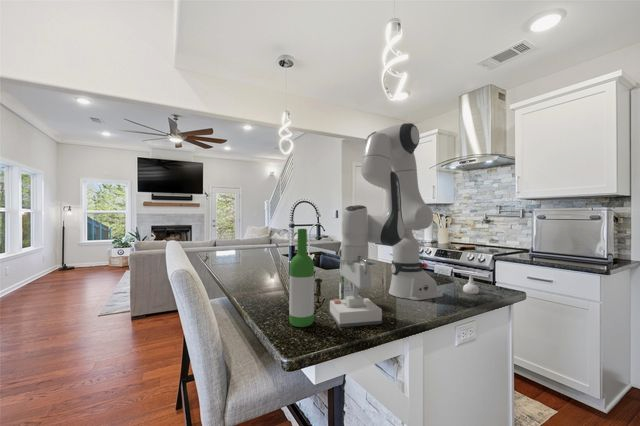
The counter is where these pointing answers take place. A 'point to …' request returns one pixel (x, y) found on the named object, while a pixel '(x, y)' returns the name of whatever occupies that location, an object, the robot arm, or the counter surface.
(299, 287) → the wine bottle
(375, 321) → the socket block
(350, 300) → the plug
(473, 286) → the garlic bulb
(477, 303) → the counter surface
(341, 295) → the syrup box
